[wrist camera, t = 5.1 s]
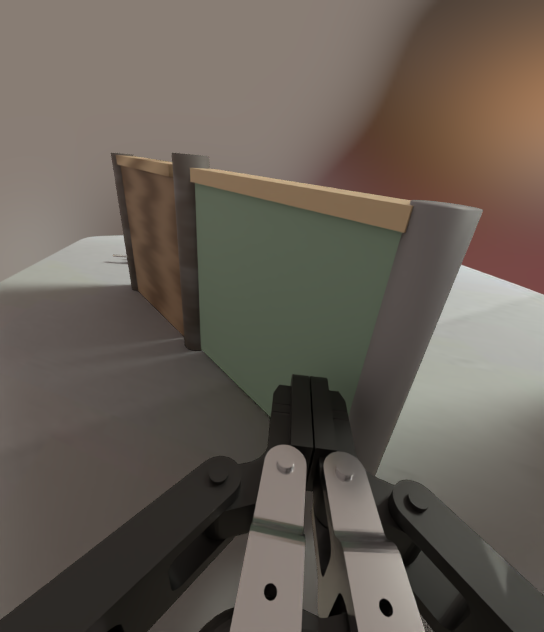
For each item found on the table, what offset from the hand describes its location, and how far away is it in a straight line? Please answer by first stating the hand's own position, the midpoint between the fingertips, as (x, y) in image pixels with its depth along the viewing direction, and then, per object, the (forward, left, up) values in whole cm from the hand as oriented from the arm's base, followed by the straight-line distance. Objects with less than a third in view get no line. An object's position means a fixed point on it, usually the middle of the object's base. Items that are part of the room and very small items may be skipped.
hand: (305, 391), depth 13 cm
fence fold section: (-2, -5, -6) cm, 8 cm away
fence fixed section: (-2, -22, -6) cm, 23 cm away
